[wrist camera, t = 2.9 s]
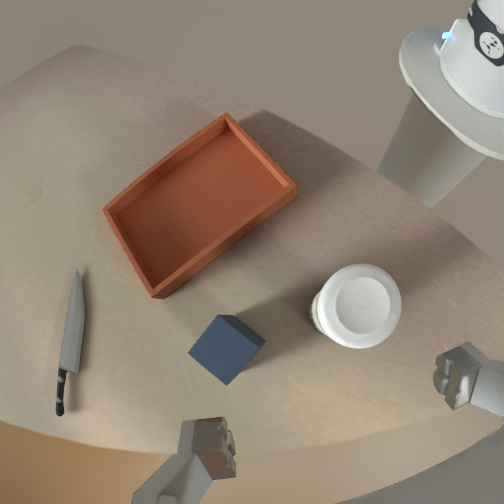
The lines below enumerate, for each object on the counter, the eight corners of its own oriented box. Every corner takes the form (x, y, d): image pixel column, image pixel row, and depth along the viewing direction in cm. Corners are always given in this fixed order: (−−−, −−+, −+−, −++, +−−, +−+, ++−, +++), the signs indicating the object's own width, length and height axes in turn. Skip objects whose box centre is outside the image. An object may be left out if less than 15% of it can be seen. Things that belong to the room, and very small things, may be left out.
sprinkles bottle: (360, 327, 27) (412, 334, 14) (314, 341, 28) (331, 360, 15) (348, 281, 28) (390, 251, 15) (302, 294, 29) (309, 274, 16)
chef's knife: (97, 273, 32) (78, 268, 32) (92, 272, 31) (73, 267, 31) (76, 423, 29) (58, 414, 29) (71, 425, 27) (53, 415, 28)
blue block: (232, 314, 29) (217, 314, 23) (265, 341, 28) (258, 347, 22) (207, 346, 29) (187, 353, 23) (239, 372, 28) (226, 386, 22)
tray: (231, 125, 34) (226, 112, 31) (297, 195, 31) (297, 185, 28) (113, 216, 33) (101, 209, 31) (162, 299, 30) (151, 297, 28)
